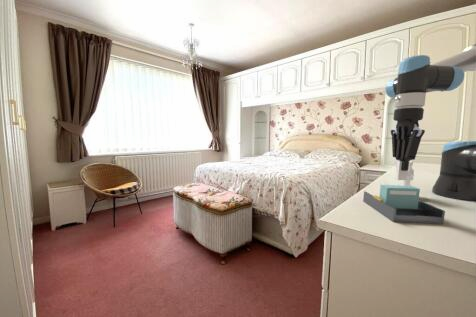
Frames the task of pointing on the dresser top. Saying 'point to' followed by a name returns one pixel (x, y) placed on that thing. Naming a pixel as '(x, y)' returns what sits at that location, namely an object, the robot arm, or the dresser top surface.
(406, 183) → the figurine
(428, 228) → the dresser top surface
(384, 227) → the dresser top surface
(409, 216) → the tray
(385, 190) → the teal box
